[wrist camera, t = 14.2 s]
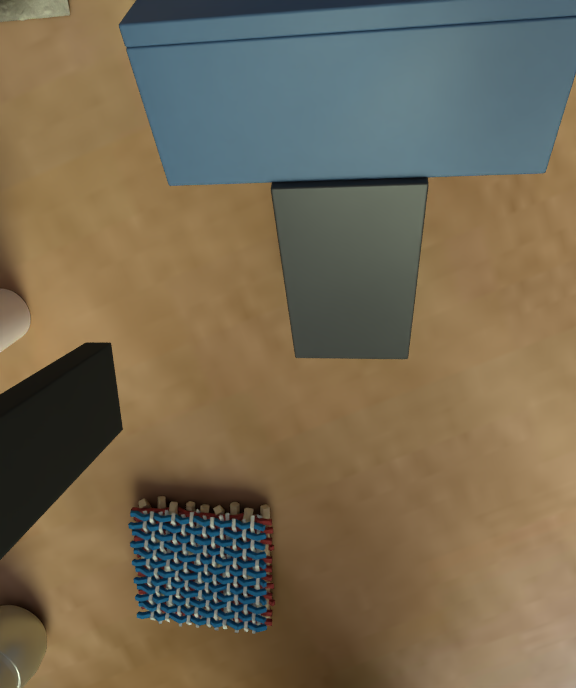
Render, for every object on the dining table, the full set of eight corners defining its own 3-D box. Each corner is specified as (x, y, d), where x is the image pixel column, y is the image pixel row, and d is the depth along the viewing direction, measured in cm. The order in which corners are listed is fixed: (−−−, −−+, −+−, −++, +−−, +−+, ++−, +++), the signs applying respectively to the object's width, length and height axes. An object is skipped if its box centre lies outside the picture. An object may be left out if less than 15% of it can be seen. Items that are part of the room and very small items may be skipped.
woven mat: (276, 620, 42) (272, 641, 40) (145, 606, 43) (135, 625, 41) (276, 503, 39) (272, 520, 37) (136, 492, 40) (124, 507, 38)
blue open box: (113, 29, 14) (219, 357, 25) (606, -9, 12) (490, 360, 23) (203, -96, 22) (254, 196, 32) (514, -129, 20) (459, 190, 31)
